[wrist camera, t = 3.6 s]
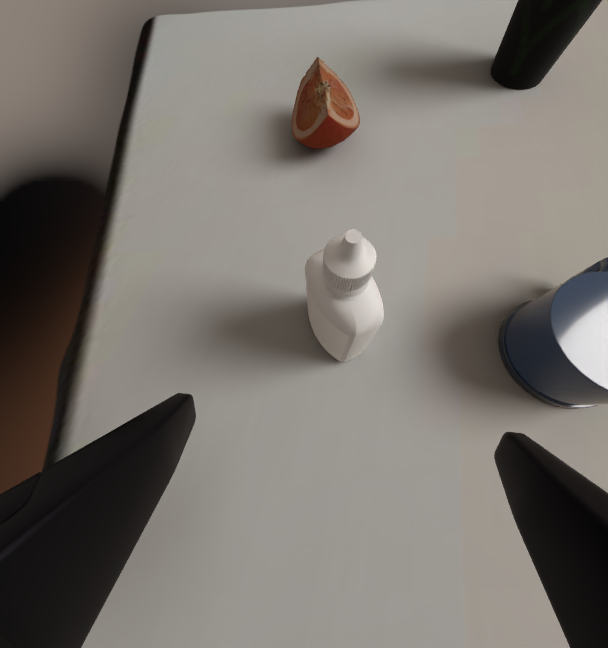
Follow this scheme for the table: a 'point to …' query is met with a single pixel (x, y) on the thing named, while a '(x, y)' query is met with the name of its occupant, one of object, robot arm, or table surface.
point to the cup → (538, 39)
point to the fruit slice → (323, 109)
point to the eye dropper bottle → (344, 295)
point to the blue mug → (562, 341)
